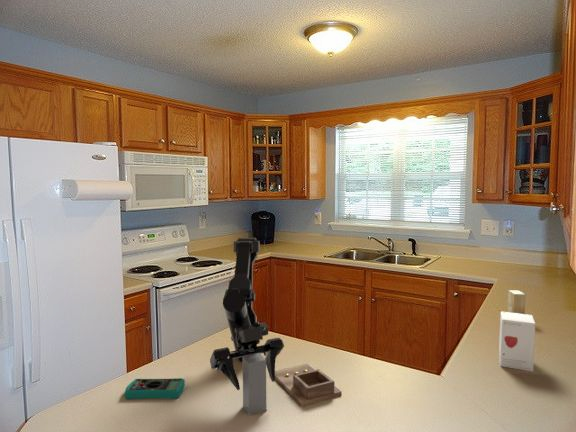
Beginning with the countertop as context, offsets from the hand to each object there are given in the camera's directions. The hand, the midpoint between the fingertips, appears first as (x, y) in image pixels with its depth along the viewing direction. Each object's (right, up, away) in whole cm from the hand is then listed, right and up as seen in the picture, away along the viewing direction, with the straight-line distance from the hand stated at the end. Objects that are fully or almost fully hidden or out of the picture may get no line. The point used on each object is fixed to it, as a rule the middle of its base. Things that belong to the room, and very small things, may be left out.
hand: (256, 385), depth 100 cm
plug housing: (-1, -6, +2) cm, 7 cm away
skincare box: (+101, -1, +65) cm, 120 cm away
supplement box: (+79, -4, +26) cm, 83 cm away
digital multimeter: (-28, -7, +10) cm, 31 cm away
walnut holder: (+12, -5, +14) cm, 19 cm away
